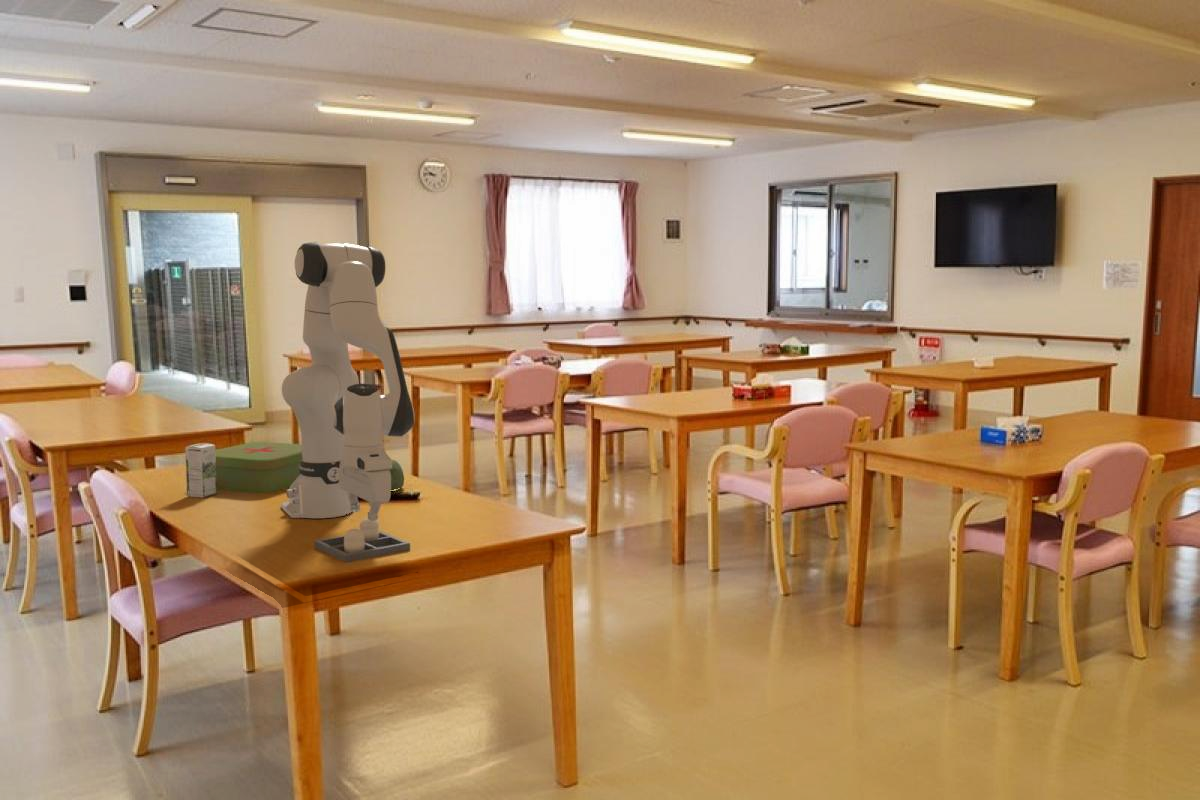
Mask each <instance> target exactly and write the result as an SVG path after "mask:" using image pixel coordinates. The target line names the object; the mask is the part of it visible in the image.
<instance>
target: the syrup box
mask: <svg viewBox="0 0 1200 800" xmlns="http://www.w3.org/2000/svg"><path fill="white" fill-rule="evenodd" d="M184 448H185V471H186V472H185V473H186V497H188V498H189V497H190V498H200V499H201V498H203V499H204V498H207V497H211V496H213V495H217V494H218V493H217V491H218V489H217V483H216V453H215V450H216V445H215V444H212V443H206V442H203V443H195V444H191V445H187V446H185V447H184Z"/></svg>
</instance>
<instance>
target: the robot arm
mask: <svg viewBox="0 0 1200 800" xmlns="http://www.w3.org/2000/svg"><path fill="white" fill-rule="evenodd" d="M295 254H296V255H295V257H294V271H295V274H296V277H297V278H298V280H299V281H300V282H301V283H303V284H305V285H308V286H307V291H306V296H305V303H304V315H303V326H302V327H303V329H302V340H303V343H304V344H305V345H306V346H307V347H308V350H309V355H310V357H311V365H310V366H303V367H300V368H298V369H296V370H294V371H292V372H290V373H289V374H288V375H286V377H285V378H284V379H283V381H282V384H281V394H282V397H283V400H284V401H285V403H286V404H287V405H288V406H289V407H290V408H291V409H292V411H293V413H294V415H295V417H296V421H297V423H298V427H299V432H300V443H301V444H300V445H301V446H302V460H301V461H300V462H301V463H300V467H299V468H300V470H299V473H300V475H299V476H298V477H297V479H296V480H295V481H294V482H293V483H292V484H291V486H290V488H287V489H286V493H285V494H286V497H287V499H289V500H287V501H284V502H283V503H282V502H281V504H280V508H281V509H282V510H283V511H284V512H285V513H286V514H287V515H288V516H289V517H290V518H291V519H292V518H293V519H327V518H329V519H330V518H331V519H332V518H337V517H338V518H339V517H342V516H347V515H350V514H352V513H357V512H360V510H361V505H360V503H359V498H360V499H362V500H364V501H366V502H368V506H369V511H368V512H367V517H368V519H369V520H371V521H375V520H377V521H378V517H379V516H378V515H379V510H380V509H381V505H384V504H388V503H389V501H390V499H391V495H392V494H391V493H392V492H391V474H390V471H389V469H391V468H392V460H393V459H392V458H391V457H390V456H389V455H388V454H387V452H386V450H385V449H384V441H383V436H388V437H399V438H400V437H403V436H404V435H406V434H407V433H408V432H410V431H411V430H412V428H413V427H414V426H415V425H414V424H415V419H416V418H415V417H416V415H415V409H414V406H413V403H412V400H411V397H410V394H409V390H408V386H407V381H406V377H405V373H404V368H403V364H402V361H401V357H400V352H399V347H398V343H397V341H396V338H395V335H394V333H393V331H392V329H391V328H389V327H387V326H386V325H384V323H383V321H382V320H381V316H380V314H379V309H378V298H377V296H378V295H377V289H376V288H377V287H378V286H379V285H381V284H382V283H383V281H384V280H385V279H384V278H385V277H386V276H385V275H386V259H385V256H384V254H383V253H382V251H381V250H379V249H377V248H375V247H371V246H363V245H362V246H361V245H357V244H351V243H346V242H345V243H344V242H342V243H335V242H334V243H333V242H326V243H324V242H321V243H318V242H316V241H315V242H314V241H313V242H305V243H302V244H301V245H300V246H299V247H298V248H297V251H296V253H295ZM349 345H351V346H353V347H356V348H359V349H362V350H364V351H368V352H369V353H372V354H373V355H374V356H376V357H377V358H378V359H380V361H381V363H382V366H383V369H384V374H385V379H386V382H387V388H388V393H387V394H381V390H380V389H379V388H378V386H375V385H373V384H369V383H360V381H359V376H358V374H357V371H356V370H355V369H354V368H353V366H352V361H351V359H350V354H349V347H348V346H349ZM351 512H352V513H351ZM349 513H350V514H349ZM346 514H347V515H346Z"/></svg>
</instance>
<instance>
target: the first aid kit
mask: <svg viewBox="0 0 1200 800" xmlns="http://www.w3.org/2000/svg"><path fill="white" fill-rule="evenodd" d="M215 453H216V483H217V490H223V491H233V492H234V491H235V492H244V493H245V492H246V493H255V494H256V493H257V494H270V493H276V492H279V491H282V490H283V491H284V490H287V489H290V486H291V484H292V483H293V482H294V481H295V480H296V479H297V477H298V476H299V475H300V473H299V470H300V468H299V467H300V463H301V462H300V461H301V460H302V446H301V444H298V443H297V444H296V443H287V442H285V443H283V442H270V441H253V442H248V443H242V444H237V445H232V446H229V447H225V448H221V449H220V448H219V449H215Z"/></svg>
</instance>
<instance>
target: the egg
mask: <svg viewBox="0 0 1200 800" xmlns="http://www.w3.org/2000/svg"><path fill="white" fill-rule="evenodd" d="M358 529H359V530H360V531H362V533H363V534H364V541H367V540H372V539H377V538H379V530H380V524H379V521H378V519H377V520H375V521H371V520H369V519H368V516H367V517H365V518H363V519H362V520H361V521H360V522H359V528H358Z"/></svg>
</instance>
